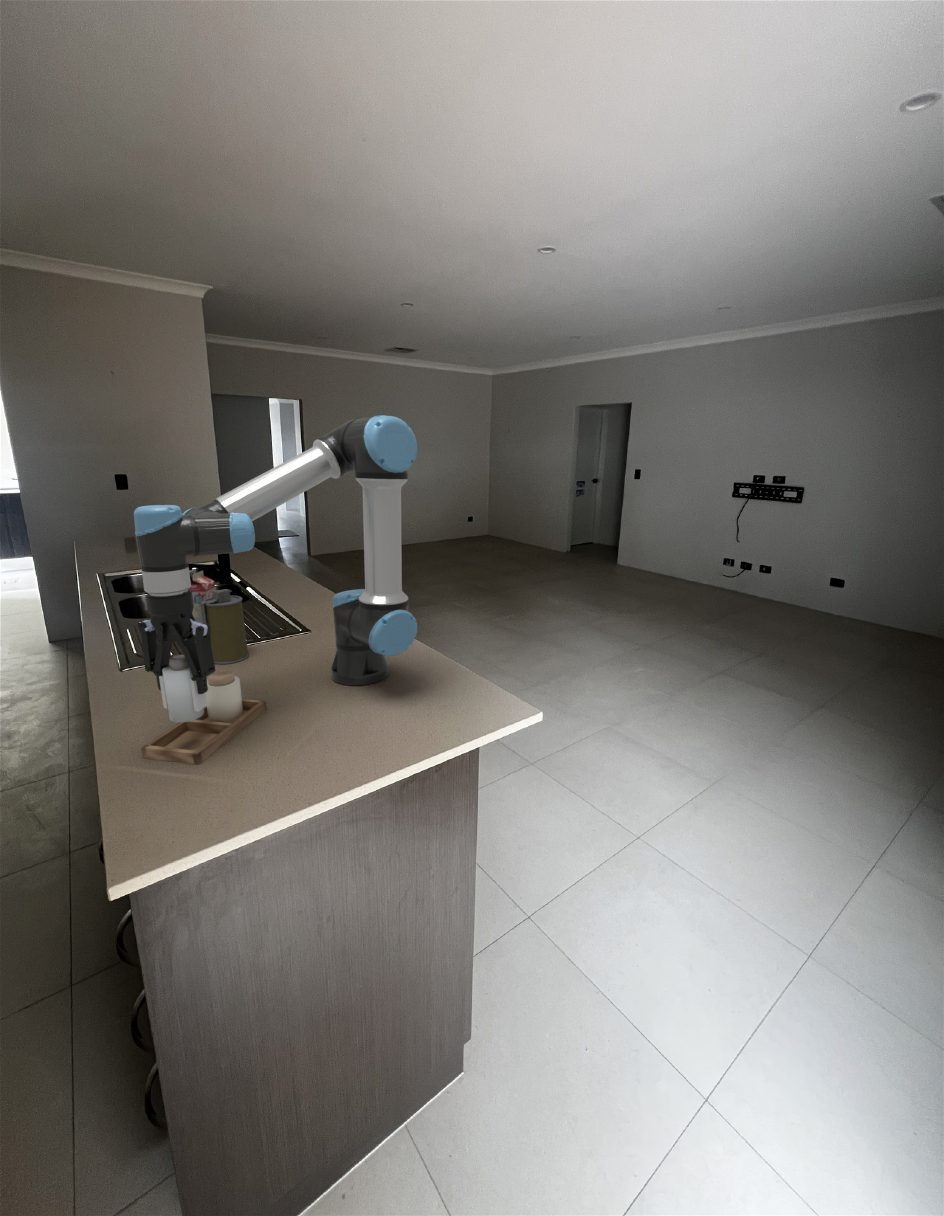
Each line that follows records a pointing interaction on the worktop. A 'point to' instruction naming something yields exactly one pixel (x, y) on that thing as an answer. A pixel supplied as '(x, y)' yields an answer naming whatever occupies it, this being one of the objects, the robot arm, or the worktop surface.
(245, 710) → the caddy
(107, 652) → the worktop surface
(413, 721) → the worktop surface
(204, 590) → the juice carton
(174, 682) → the plastic bottle
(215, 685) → the ceramic jar
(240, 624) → the canister
